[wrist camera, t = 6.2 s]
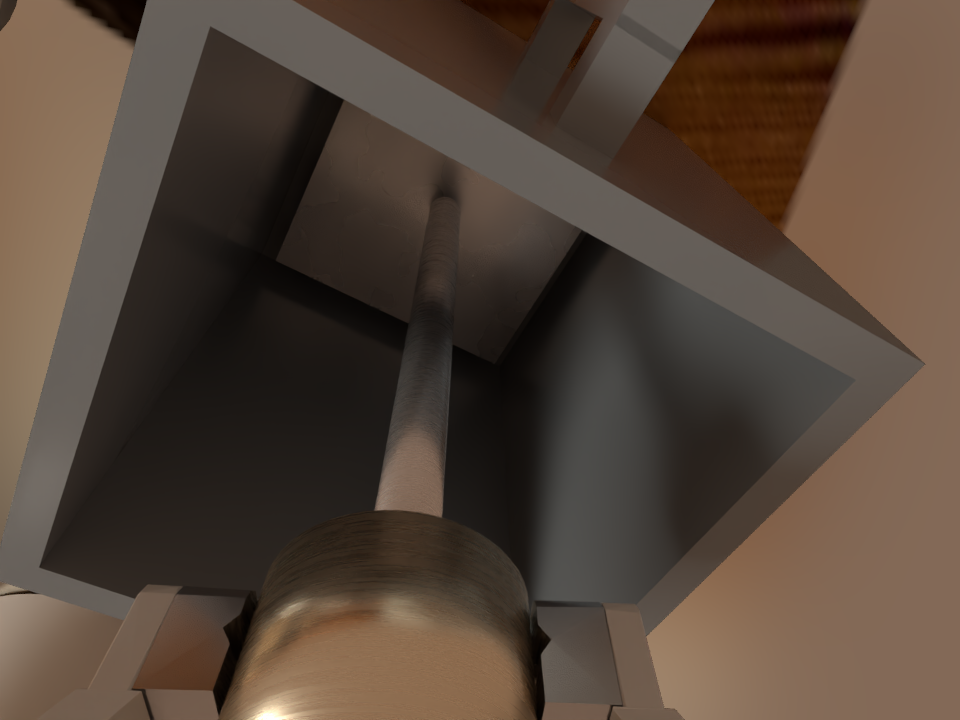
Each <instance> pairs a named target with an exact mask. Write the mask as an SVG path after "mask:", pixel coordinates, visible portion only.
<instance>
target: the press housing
mask: <svg viewBox="0 0 960 720" xmlns="http://www.w3.org/2000/svg"><path fill="white" fill-rule="evenodd" d="M714 1H715V0H550V1H549V3H548V5H547V7H546V9H545V11H544V13H543V14H542V16H541V18H540V20H539V22H538V24H537V26H536V27H535V29H534V31H533V33H532V35H531V37H530V39H529V41H528V42H526V41H524V40H523V39H521V38H520V37H518V36H516V35H515V34H513V33H511V32H510V31H508V30H507V29H505V28H503V27H502V26H500V25H498V24H497V23H495V22H494V21H492V20H490V19H489V18H487V17H485V16H484V15H482V14H481V13H479V12H477V11H476V10H474V9H472V8H471V7H469V6H468V5H466V4H464V3H463V2H461V1H459V0H147V2H146V6H145V10H144V14H143V17H142V21H141V25H140V28H139V32H138V36H137V40H136V43H135V47H134V51H133V54H132V58H131V62H130V66H129V69H128V73H127V77H126V80H125V84H124V88H123V92H122V95H121V99H120V103H119V107H118V110H117V114H116V118H115V121H114V125H113V129H112V132H111V136H110V140H109V144H108V147H107V151H106V155H105V158H104V162H103V166H102V170H101V173H100V177H99V181H98V184H97V188H96V192H95V196H94V199H93V203H92V207H91V210H90V214H89V218H88V222H87V226H86V229H85V233H84V236H83V240H82V244H81V248H80V251H79V255H78V259H77V262H76V266H75V270H74V274H73V277H72V281H71V285H70V288H69V292H68V296H67V300H66V303H65V308H64V311H63V315H62V318H61V322H60V326H59V329H58V333H57V337H56V340H55V344H54V348H53V352H52V355H51V359H50V363H49V367H48V370H47V374H46V378H45V381H44V385H43V389H42V392H41V396H40V400H39V404H38V408H37V411H36V415H35V418H34V422H33V426H32V430H31V433H30V437H29V441H28V444H27V448H26V452H25V456H24V459H23V463H22V467H21V470H20V474H19V478H18V481H17V485H16V489H15V493H14V497H13V500H12V504H11V508H10V511H9V515H8V519H7V523H6V526H5V530H4V533H3V537H2V541H1V545H0V581H1V582H4V583H7V584H10V585H13V586H16V587H19V588H23V589H26V590H29V591H32V592H35V593H38V594H42V595H45V596H48V597H51V598H54V599H57V600H61V601H64V602H67V603H70V604H73V605H76V606H80V607H83V608H86V609H89V610H92V611H95V612H98V613H102V614H105V615H108V616H111V617H114V618H117V619H121V620H125V618H126V616H127V614H128V612H129V610H130V608H131V606H132V604H133V603H134V601H135V599H136V597H137V595H138V594H139V593H140V592H141V591H142V590H143V589H144V588H145V587H146V586H147V585H148V584H150V585H169V586H190V587H205V588H220V589H236V590H251V591H256V595H257V600H258V599H259V596H260V593H261V590H262V587H263V584H264V581H265V578H266V575H267V573H268V571H269V569H270V566H271V564H272V563H273V561H274V560H275V558H276V557H277V555H278V554H279V552H280V551H281V550H282V549H283V548H284V547H285V546H286V545H287V544H288V543H289V542H291V541H292V540H293V539H294V538H296V537H297V536H298V535H300V534H301V533H303V532H305V531H306V530H308V529H310V528H312V527H313V526H315V525H318V524H320V523H323V522H325V521H327V520H330V519H333V518H337V517H340V516H344V515H347V514H353V513H358V512H364V511H374V510H375V505H376V499H377V494H378V488H379V483H380V477H381V472H382V467H383V461H384V456H385V450H386V445H387V439H388V434H389V428H390V423H391V417H392V412H393V406H394V401H395V395H396V390H397V385H398V379H399V374H400V368H401V363H402V357H403V352H404V346H405V341H406V335H407V330H408V324H409V323H407V322H404V321H402V320H400V319H398V318H396V317H394V316H392V315H390V314H387V313H385V312H383V311H381V310H379V309H377V308H375V307H373V306H371V305H368V304H366V303H364V302H362V301H360V300H358V299H356V298H354V297H351V296H349V295H347V294H345V293H343V292H341V291H339V290H337V289H334V288H332V287H330V286H328V285H326V284H324V283H322V282H320V281H318V280H315V279H313V278H311V277H309V276H307V275H305V274H303V273H301V272H298V271H296V270H294V269H292V268H290V267H288V266H286V265H284V264H282V263H279V262H277V261H276V258H277V256H278V254H279V251H280V249H281V247H282V244H283V242H284V240H285V237H286V235H287V233H288V230H289V228H290V226H291V223H292V221H293V219H294V216H295V214H296V212H297V209H298V207H299V205H300V202H301V200H302V198H303V195H304V193H305V190H306V188H307V186H308V183H309V181H310V179H311V176H312V174H313V172H314V169H315V167H316V165H317V162H318V160H319V158H320V155H321V153H322V151H323V148H324V146H325V144H326V141H327V139H328V137H329V134H330V132H331V130H332V127H333V125H334V122H335V120H336V118H337V115H338V113H339V111H340V108H341V106H342V104H343V101H344V100H346V101H348V102H350V103H351V104H353V105H355V106H357V107H359V108H361V109H362V110H364V111H366V112H368V113H370V114H372V115H373V116H375V117H377V118H379V119H381V120H383V121H384V122H386V123H388V124H390V125H392V126H393V127H395V128H397V129H399V130H401V131H403V132H404V133H406V134H408V135H410V136H412V137H414V138H415V139H417V140H419V141H421V142H423V143H425V144H426V145H428V146H430V147H432V148H434V149H435V150H437V151H439V152H441V153H443V154H445V155H446V156H448V157H450V158H452V159H454V160H456V161H457V162H459V163H461V164H463V165H465V166H466V167H468V168H470V169H472V170H474V171H476V172H477V173H479V174H481V175H483V176H485V177H487V178H488V179H490V180H492V181H494V182H496V183H498V184H499V185H501V186H503V187H505V188H507V189H508V190H510V191H512V192H514V193H516V194H518V195H519V196H521V197H523V198H525V199H527V200H529V201H530V202H532V203H534V204H536V205H538V206H540V207H541V208H543V209H545V210H547V211H549V212H550V213H552V214H554V215H556V216H558V217H560V218H561V219H563V220H565V221H567V222H569V223H571V224H572V225H574V226H576V227H578V228H580V229H581V230H582V231H581V232H580V234H579V235H578V237H577V238H576V240H575V241H574V243H573V245H572V246H571V248H570V249H569V251H568V252H567V254H566V255H565V257H564V258H563V260H562V261H561V263H560V264H559V266H558V268H557V269H556V271H555V272H554V274H553V275H552V277H551V278H550V280H549V281H548V283H547V284H546V286H545V287H544V289H543V290H542V292H541V294H540V295H539V297H538V298H537V300H536V301H535V303H534V304H533V306H532V307H531V309H530V310H529V312H528V313H527V315H526V317H525V318H524V320H523V321H522V323H521V324H520V326H519V327H518V329H517V330H516V332H515V333H514V335H513V336H512V338H511V339H510V341H509V343H508V344H507V346H506V347H505V349H504V350H503V352H502V353H501V355H500V356H499V358H498V359H497V361H496V362H495V364H493V363H491V362H489V361H487V360H485V359H483V358H481V357H479V356H476V355H474V354H472V353H470V352H468V351H466V350H464V349H462V348H460V347H457V346H455V345H453V346H452V363H451V379H450V396H449V412H448V428H447V445H446V461H445V478H444V494H443V510H442V518H445V519H448V520H451V521H454V522H457V523H460V524H462V525H464V526H466V527H468V528H470V529H473V530H475V531H476V532H478V533H480V534H481V535H483V536H484V537H486V538H488V539H489V540H490V541H492V542H493V543H494V544H495V545H497V546H498V547H499V548H500V549H502V550H503V552H504V553H505V554H506V555H507V556H508V557H509V558H510V559H511V560H512V561H513V563H514V564H515V566H516V567H517V569H518V570H519V572H520V574H521V576H522V578H523V580H524V582H525V586H526V590H527V593H528V603H529V616H530V614H531V608H532V604H533V601H534V600H545V601H585V602H599V603H623V604H635V605H636V606H637V607H638V609H639V610H640V614H641V618H642V622H643V626H644V630H645V634H646V636H647V635H648V634H649V633H650V632H651V631H652V630H653V629H654V628H655V627H657V625H658V624H660V623H661V622H662V621H663V620H664V619H665V618H666V617H667V616H668V615H669V614H670V613H671V612H672V611H673V610H674V609H675V608H676V607H677V606H678V605H679V604H680V603H681V602H682V601H683V600H684V599H685V598H686V597H687V596H688V595H689V594H690V593H691V592H692V591H693V590H694V589H695V588H696V587H697V586H699V584H701V582H703V581H704V580H705V579H706V578H707V577H708V576H709V575H710V574H711V573H712V572H713V571H714V570H715V569H716V568H717V567H718V566H719V565H720V564H721V563H722V562H723V561H724V560H725V559H726V558H727V557H728V556H729V555H730V554H731V553H732V552H733V551H734V550H735V549H736V548H737V547H738V546H739V545H741V544H742V543H743V542H744V541H745V540H746V539H747V538H748V537H749V536H750V535H751V534H752V533H753V532H754V531H755V530H756V529H757V528H758V527H759V526H760V525H761V524H762V523H763V522H764V521H765V520H766V519H767V518H768V517H769V516H770V515H771V514H772V513H773V512H774V511H775V510H776V509H777V508H778V507H779V506H780V505H781V504H783V502H785V501H786V500H787V499H788V498H789V497H790V496H791V495H792V494H793V493H794V492H795V491H796V490H797V489H798V488H799V487H800V486H801V485H802V484H803V483H804V482H805V481H806V480H807V479H808V478H809V477H810V476H811V475H812V474H813V473H814V472H815V471H816V470H817V469H818V468H819V467H820V466H821V465H822V464H823V463H824V462H826V461H827V459H829V457H830V456H832V455H833V454H834V453H835V452H836V451H837V450H838V449H839V448H840V447H841V446H842V445H843V444H844V443H845V442H846V441H847V440H848V439H849V438H850V437H851V436H852V435H853V434H854V433H855V432H856V431H857V430H858V429H859V428H860V427H861V426H862V425H863V424H864V423H865V422H866V421H868V420H869V418H871V417H872V416H873V415H874V414H875V413H876V412H877V411H878V410H879V409H880V408H881V407H882V406H883V405H884V404H885V403H886V402H887V401H888V400H889V399H890V398H891V397H892V396H893V395H894V394H895V393H896V392H897V391H898V390H899V389H900V388H901V387H902V386H903V385H904V384H905V383H906V382H908V381H909V380H910V379H911V378H912V377H913V376H914V375H915V374H916V373H917V372H918V371H919V370H920V369H921V368H922V367H923V366H924V365H925V363H924V362H922V361H921V360H920V359H919V358H918V357H917V356H916V355H915V354H914V353H912V351H910V350H909V349H908V348H907V347H906V346H905V345H904V344H903V343H902V342H901V341H900V340H898V339H897V338H896V337H895V336H894V335H893V334H892V333H891V332H890V331H889V330H887V329H886V328H885V327H884V326H883V325H882V324H881V323H880V322H879V321H878V320H877V319H876V318H874V317H873V316H872V315H871V314H870V313H869V312H868V311H867V310H866V309H865V308H863V307H862V306H861V305H860V304H859V303H858V302H857V301H856V300H855V299H854V298H853V297H852V296H850V295H849V294H848V293H847V292H846V291H845V290H844V289H843V288H842V287H841V286H840V285H838V284H837V283H836V282H835V281H834V280H833V279H832V278H831V277H830V276H829V275H827V274H826V273H825V272H824V271H823V270H822V269H821V268H820V267H819V266H818V265H817V264H816V263H814V262H813V261H812V260H811V259H810V258H809V257H808V256H807V255H806V254H805V253H804V252H802V251H801V250H800V249H799V248H798V247H797V246H796V245H795V244H794V243H793V242H791V241H790V240H789V239H788V238H787V237H786V236H785V235H784V234H783V233H782V232H781V231H780V230H778V229H777V228H776V227H775V226H774V225H773V224H772V223H771V222H770V221H769V220H768V219H766V218H765V217H764V216H763V215H762V214H761V213H760V212H759V211H758V210H757V209H756V208H754V207H753V206H752V205H751V204H750V203H749V202H748V201H747V200H746V199H745V198H744V197H742V196H741V195H740V194H739V193H738V192H737V191H736V190H735V189H734V188H733V187H731V186H730V185H729V184H728V183H727V182H726V181H725V180H724V179H723V178H722V177H721V176H719V175H718V174H717V173H716V172H715V171H714V170H713V169H712V168H711V167H710V166H709V165H707V164H706V163H705V162H704V161H703V160H702V159H701V158H700V157H699V156H698V155H697V154H695V153H694V152H693V151H692V150H691V149H690V148H689V147H688V146H687V145H686V144H685V143H683V142H682V141H681V140H680V139H679V138H678V137H677V136H676V135H675V134H674V133H673V132H671V131H670V130H669V129H668V128H666V127H664V126H663V125H661V124H660V123H658V122H656V121H655V120H653V119H651V118H650V117H648V116H647V115H645V114H643V111H644V110H645V108H646V107H647V105H648V104H649V102H650V100H651V99H652V97H653V96H654V94H655V93H656V91H657V90H658V88H659V86H660V85H661V83H662V82H663V80H664V79H665V77H666V76H667V74H668V72H669V71H670V69H671V68H672V66H673V65H674V63H675V62H676V60H677V58H678V57H679V55H680V54H681V52H682V51H683V49H684V47H685V46H686V44H687V43H688V41H689V40H690V38H691V37H692V35H693V33H694V32H695V30H696V29H697V27H698V26H699V24H700V23H701V21H702V19H703V18H704V16H705V15H706V13H707V12H708V10H709V9H710V7H711V5H712V4H713V2H714ZM594 19H596V20H598V21H600V22H601V23H600V25H599V27H598V28H597V30H596V32H595V34H594V35H593V37H592V39H591V41H590V42H589V44H588V46H587V47H586V49H585V51H584V53H583V54H582V56H581V58H580V60H579V61H578V63H577V65H576V67H575V68H574V70H572V69H570V68H568V67H567V66H568V64H569V63H570V61H571V59H572V57H573V56H574V54H575V52H576V50H577V49H578V47H579V45H580V43H581V42H582V40H583V38H584V36H585V35H586V33H587V31H588V29H589V27H590V26H591V24H592V22H593V20H594ZM530 628H531V623H530Z"/></svg>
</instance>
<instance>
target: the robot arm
mask: <svg viewBox="0 0 960 720" xmlns="http://www.w3.org/2000/svg"><path fill="white" fill-rule="evenodd" d="M257 602H258V600H257V595H256V591H251V590H236V589H220V588H205V587H190V586H169V585H150V584H148V585H147V586H146V587H145V588H144V589H143V590H142V591H141V592H140V593H139V594H138V595H137V597H136V599H135V601H134V603H133V604H132V606H131V608H130V610H129V612H128V614H127V616H126V618H125V620H121V619H117V618H114V617H111V616H108V615H105V614H102V613H98V612H95V611H92V610H89V609H86V608H83V607H80V606H76V605H73V604H70V603H67V602H64V601H61V600H57V599H54V598H51V597H48V596H45V595H42V594H15V595H6V596H0V720H218V718H219V715H220V712H221V709H222V706H223V703H224V700H225V697H226V694H227V691H228V688H229V685H230V682H231V679H232V676H233V673H234V670H235V667H236V664H237V661H238V658H239V655H240V653H241V650H242V647H243V644H244V641H245V638H246V635H247V632H248V629H249V626H250V623H251V620H252V617H253V614H254V611H255V608H256V605H257ZM530 623H531V641H532V653H533V666H534V678H535V691H536V703H537V716H538V720H684V719H683V717H682V716H681V715H680V714H679V713H678V712H677V711H676V710H675V709H669V708H664V706H663V702H662V698H661V694H660V690H659V686H658V682H657V678H656V674H655V670H654V666H653V662H652V658H651V655H650V650H649V646H648V642H647V638H646V634H645V630H644V626H643V622H642V618H641V614H640V610H639V609H638V607H637V606H636V605H635V604H623V603H599V602H585V601H545V600H534V601H533V604H532V608H531V614H530Z"/></svg>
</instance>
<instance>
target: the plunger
mask: <svg viewBox="0 0 960 720" xmlns="http://www.w3.org/2000/svg"><path fill="white" fill-rule="evenodd" d="M581 231H582V230H581V229H580V228H578V227H576V226H574V225H572V224H571V223H569V222H567V221H565V220H563V219H561V218H560V217H558V216H556V215H554V214H552V213H550V212H549V211H547V210H545V209H543V208H541V207H540V206H538V205H536V204H534V203H532V202H530V201H529V200H527V199H525V198H523V197H521V196H519V195H518V194H516V193H514V192H512V191H510V190H508V189H507V188H505V187H503V186H501V185H499V184H498V183H496V182H494V181H492V180H490V179H488V178H487V177H485V176H483V175H481V174H479V173H477V172H476V171H474V170H472V169H470V168H468V167H466V166H465V165H463V164H461V163H459V162H457V161H456V160H454V159H452V158H450V157H448V156H446V155H445V154H443V153H441V152H439V151H437V150H435V149H434V148H432V147H430V146H428V145H426V144H425V143H423V142H421V141H419V140H417V139H415V138H414V137H412V136H410V135H408V134H406V133H404V132H403V131H401V130H399V129H397V128H395V127H393V126H392V125H390V124H388V123H386V122H384V121H383V120H381V119H379V118H377V117H375V116H373V115H372V114H370V113H368V112H366V111H364V110H362V109H361V108H359V107H357V106H355V105H353V104H351V103H350V102H348V101H346V100H344V101H343V104H342V106H341V108H340V111H339V113H338V115H337V118H336V120H335V122H334V125H333V127H332V130H331V132H330V134H329V137H328V139H327V141H326V144H325V146H324V148H323V151H322V153H321V155H320V158H319V160H318V162H317V165H316V167H315V169H314V172H313V174H312V176H311V179H310V181H309V183H308V186H307V188H306V190H305V193H304V195H303V198H302V200H301V202H300V205H299V207H298V209H297V212H296V214H295V216H294V219H293V221H292V223H291V226H290V228H289V230H288V233H287V235H286V237H285V240H284V242H283V244H282V247H281V249H280V251H279V254H278V256H277V258H276V261H277V262H279V263H282V264H284V265H286V266H288V267H290V268H292V269H294V270H296V271H298V272H301V273H303V274H305V275H307V276H309V277H311V278H313V279H315V280H318V281H320V282H322V283H324V284H326V285H328V286H330V287H332V288H334V289H337V290H339V291H341V292H343V293H345V294H347V295H349V296H351V297H354V298H356V299H358V300H360V301H362V302H364V303H366V304H368V305H371V306H373V307H375V308H377V309H379V310H381V311H383V312H385V313H387V314H390V315H392V316H394V317H396V318H398V319H400V320H402V321H404V322H407V323H409V324H408V330H407V335H406V341H405V346H404V352H403V357H402V363H401V368H400V374H399V379H398V385H397V390H396V395H395V401H394V406H393V412H392V417H391V423H390V428H389V434H388V439H387V445H386V450H385V456H384V461H383V467H382V472H381V477H380V483H379V488H378V494H377V499H376V505H375V510H374V511H364V512H358V513H353V514H347V515H344V516H340V517H337V518H333V519H330V520H327V521H325V522H323V523H320V524H318V525H315V526H313V527H312V528H310V529H308V530H306V531H305V532H303V533H301V534H300V535H298V536H297V537H296V538H294V539H293V540H292V541H291V542H289V543H288V544H287V545H286V546H285V547H284V548H283V549H282V550H281V551H280V552H279V554H278V555H277V557H276V558H275V560H274V561H273V563H272V564H271V566H270V569H269V571H268V573H267V575H266V578H265V581H264V584H263V587H262V590H261V593H260V596H259V599H258V602H257V605H256V608H255V611H254V614H253V617H252V620H251V623H250V626H249V629H248V632H247V635H246V638H245V641H244V644H243V647H242V650H241V653H240V655H239V658H238V661H237V664H236V667H235V670H234V673H233V676H232V679H231V682H230V685H229V688H228V691H227V694H226V697H225V700H224V703H223V706H222V709H221V712H220V715H219V718H218V720H538V716H537V703H536V691H535V678H534V666H533V653H532V641H531V628H530V616H529V603H528V593H527V590H526V586H525V582H524V580H523V578H522V576H521V574H520V572H519V570H518V569H517V567H516V566H515V564H514V563H513V561H512V560H511V559H510V558H509V557H508V556H507V555H506V554H505V553H504V552H503V550H502V549H500V548H499V547H498V546H497V545H495V544H494V543H493V542H492V541H490V540H489V539H488V538H486V537H484V536H483V535H481V534H480V533H478V532H476V531H475V530H473V529H470V528H468V527H466V526H464V525H462V524H460V523H457V522H454V521H451V520H448V519H445V518H442V510H443V494H444V478H445V461H446V445H447V428H448V412H449V396H450V379H451V363H452V346H453V345H455V346H457V347H460V348H462V349H464V350H466V351H468V352H470V353H472V354H474V355H476V356H479V357H481V358H483V359H485V360H487V361H489V362H491V363H493V364H495V362H496V361H497V359H498V358H499V356H500V355H501V353H502V352H503V350H504V349H505V347H506V346H507V344H508V343H509V341H510V339H511V338H512V336H513V335H514V333H515V332H516V330H517V329H518V327H519V326H520V324H521V323H522V321H523V320H524V318H525V317H526V315H527V313H528V312H529V310H530V309H531V307H532V306H533V304H534V303H535V301H536V300H537V298H538V297H539V295H540V294H541V292H542V290H543V289H544V287H545V286H546V284H547V283H548V281H549V280H550V278H551V277H552V275H553V274H554V272H555V271H556V269H557V268H558V266H559V264H560V263H561V261H562V260H563V258H564V257H565V255H566V254H567V252H568V251H569V249H570V248H571V246H572V245H573V243H574V241H575V240H576V238H577V237H578V235H579V234H580V232H581Z"/></svg>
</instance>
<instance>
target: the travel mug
mask: <svg viewBox="0 0 960 720" xmlns="http://www.w3.org/2000/svg"><path fill="white" fill-rule="evenodd" d="M16 3H17V0H0V31H1V29H2V28H3V27H4V26H5V25H6V24H7V22H8V21H9V20H10V17H11V15H12V13H13V11H14V9H15V7H16Z"/></svg>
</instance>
